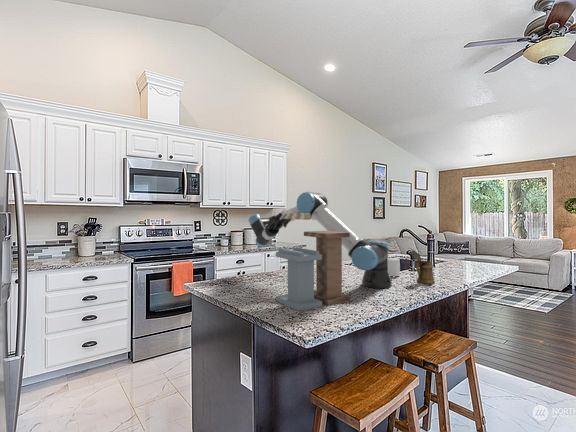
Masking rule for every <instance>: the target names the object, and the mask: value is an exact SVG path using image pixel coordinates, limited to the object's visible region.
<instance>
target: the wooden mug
mask: <svg viewBox="0 0 576 432" xmlns="http://www.w3.org/2000/svg"><path fill="white" fill-rule="evenodd" d="M410 253H411V255H412V257H413V258H414V260H416V263H415V270H416V272H417V274H418V276H417V279H416V282H418V283H420V284H424V285H426V284H427V285H431V284H435V283H436V282H435V281H436V280H435V279H434V271H433V269H434V266H433V264H432V261H429V260H422V257H421V255H420V254H419V253H418V252H417V251H415V250H413V249H412V250H411V252H410Z"/></svg>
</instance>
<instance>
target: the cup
mask: <svg viewBox="0 0 576 432" xmlns="http://www.w3.org/2000/svg"><path fill="white" fill-rule="evenodd" d="M400 268H401V266H400V259H399V258H395V257H391V258H390V257H388V273H389V275H392V276H399V277H400V274H401V273H400V271H401V270H400Z"/></svg>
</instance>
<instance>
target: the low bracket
mask: <svg viewBox="0 0 576 432" xmlns="http://www.w3.org/2000/svg"><path fill="white" fill-rule="evenodd" d="M275 257H276V258H280V259H284V260H287V294H281V295H276V296H275V301H276V302H278V303H280V304H282V305H284V306H287V307H289V308H290V309H292V310H295V311H297V312H300V311H305V310H310V309H315V308H321V307H323V303H322V301H319V300H317V299H314V290H315V261H316V260H321V259H322V255H321V254H319V251H316V250H314V249H308V248H303V247H297V246H296V247H295V246H294V247H292V249H286V248H278V251H276V252H275Z"/></svg>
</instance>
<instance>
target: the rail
mask: <svg viewBox="0 0 576 432" xmlns="http://www.w3.org/2000/svg"><path fill="white" fill-rule="evenodd" d="M279 219H280V218H279ZM282 219H297V220H305V221H307V220H309V221H310V220H311V218H310V213H286V214H285V215H284V217H283V218H282Z"/></svg>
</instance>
